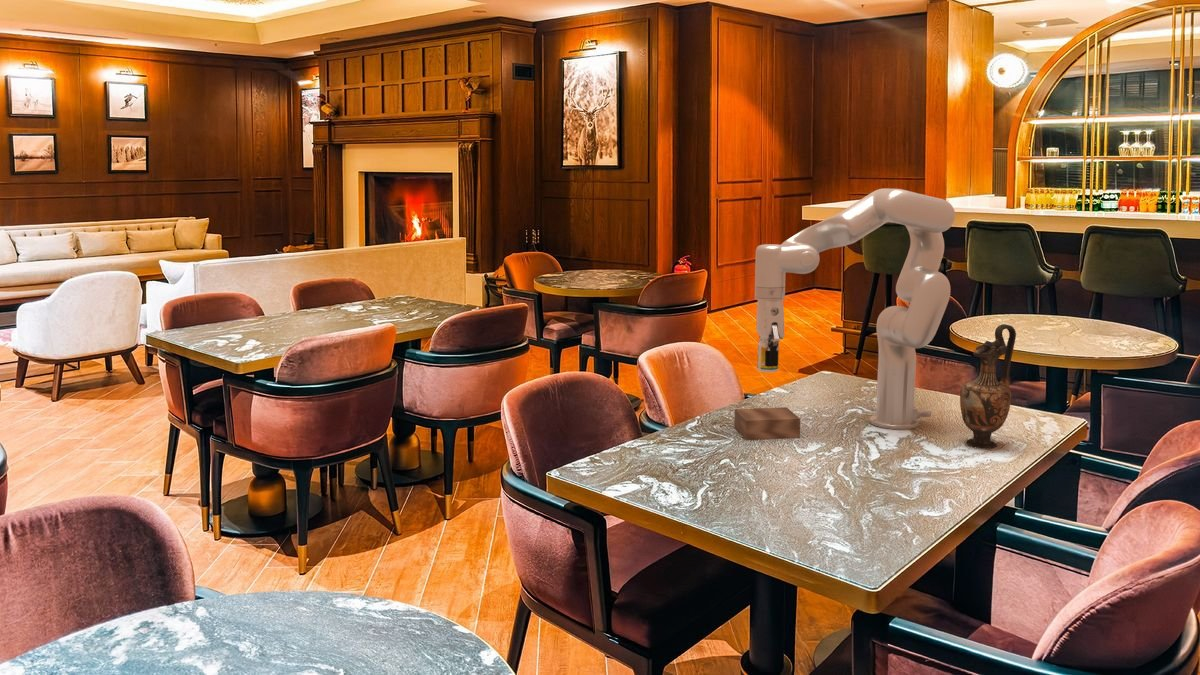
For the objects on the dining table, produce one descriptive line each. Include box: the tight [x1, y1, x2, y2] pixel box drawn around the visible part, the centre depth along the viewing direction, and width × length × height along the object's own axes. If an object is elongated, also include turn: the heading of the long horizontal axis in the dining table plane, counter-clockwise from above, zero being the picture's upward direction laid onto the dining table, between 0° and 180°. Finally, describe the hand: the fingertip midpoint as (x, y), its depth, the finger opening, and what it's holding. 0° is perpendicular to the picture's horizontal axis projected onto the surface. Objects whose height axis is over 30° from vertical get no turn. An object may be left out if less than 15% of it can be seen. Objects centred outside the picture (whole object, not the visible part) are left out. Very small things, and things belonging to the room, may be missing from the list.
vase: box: [959, 323, 1017, 450], centre depth 232 cm, size 12×12×30 cm
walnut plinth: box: [734, 406, 801, 441], centre depth 246 cm, size 14×12×5 cm
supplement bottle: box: [756, 336, 780, 373], centre depth 243 cm, size 5×5×10 cm
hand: (768, 363), depth 244 cm, fingers closed on supplement bottle, 5 cm apart
